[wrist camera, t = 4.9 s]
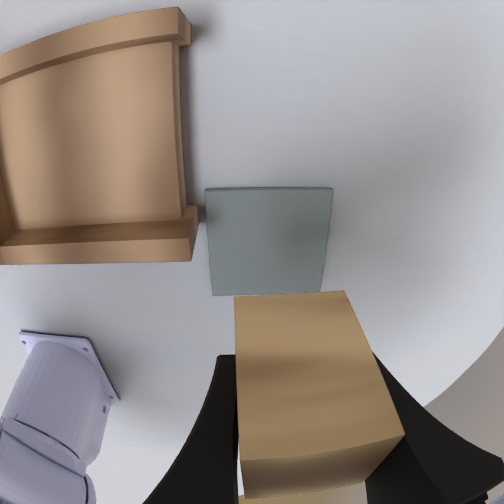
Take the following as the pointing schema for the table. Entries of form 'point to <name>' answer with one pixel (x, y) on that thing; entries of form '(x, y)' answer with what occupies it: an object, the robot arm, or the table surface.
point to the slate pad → (267, 239)
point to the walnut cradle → (96, 145)
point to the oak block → (308, 395)
